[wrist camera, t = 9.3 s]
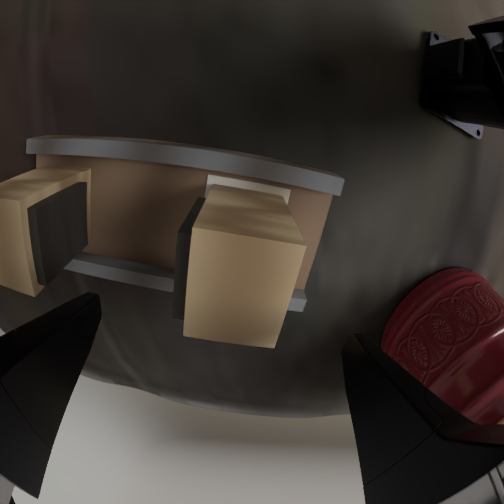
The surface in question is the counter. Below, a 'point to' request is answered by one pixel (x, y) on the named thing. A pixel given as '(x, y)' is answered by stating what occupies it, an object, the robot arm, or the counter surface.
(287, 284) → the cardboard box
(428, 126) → the counter surface
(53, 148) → the slider rail with block
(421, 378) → the canister
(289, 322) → the counter surface
